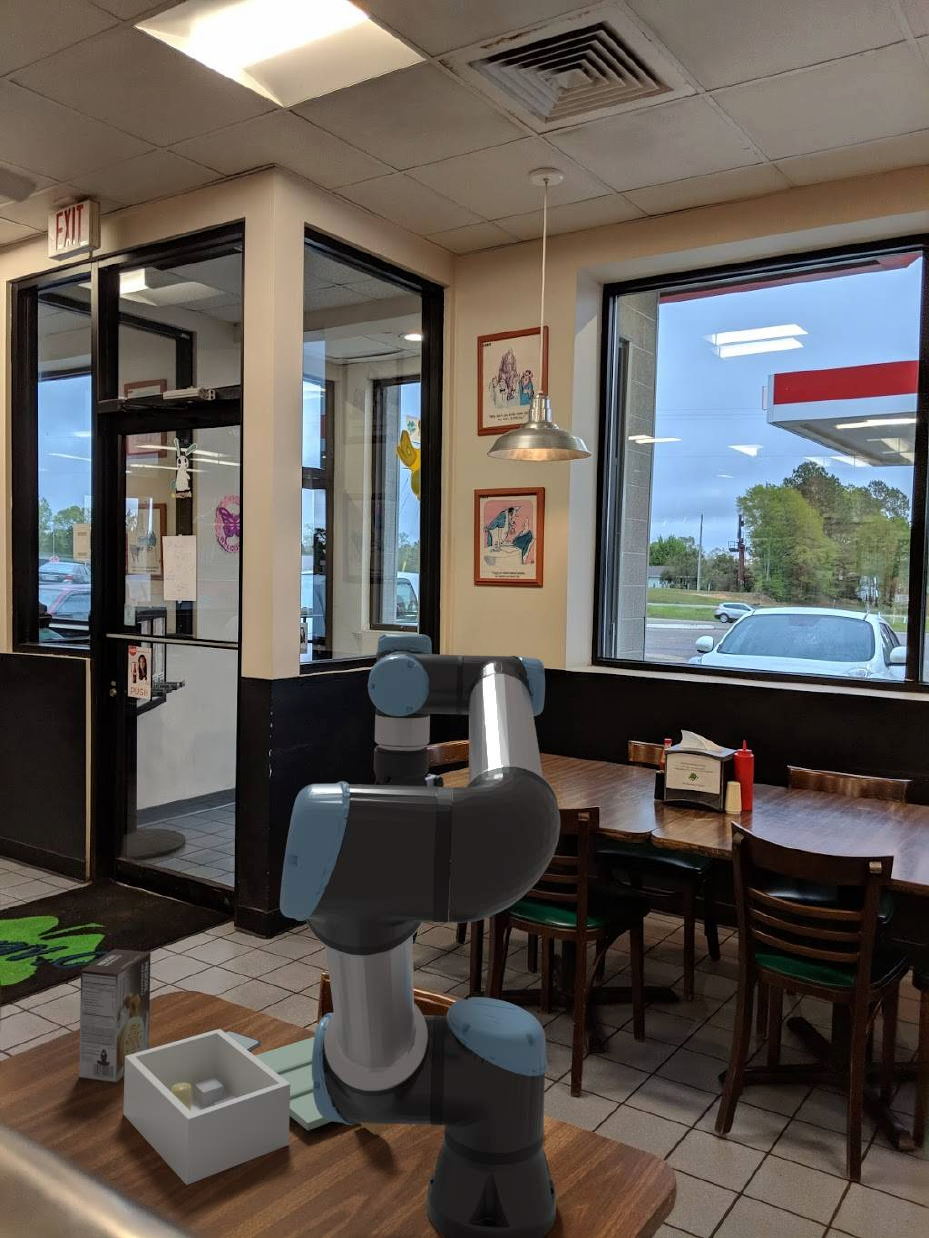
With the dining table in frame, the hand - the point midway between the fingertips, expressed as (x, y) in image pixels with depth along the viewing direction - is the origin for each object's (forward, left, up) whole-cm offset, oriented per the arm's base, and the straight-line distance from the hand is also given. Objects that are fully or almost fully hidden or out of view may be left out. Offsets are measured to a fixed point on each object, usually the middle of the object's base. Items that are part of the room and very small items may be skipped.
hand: (397, 898), depth 132 cm
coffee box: (+36, +25, -30) cm, 53 cm away
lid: (+9, +5, -30) cm, 32 cm away
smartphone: (+30, +12, -31) cm, 44 cm away
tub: (+12, +22, -30) cm, 39 cm away
